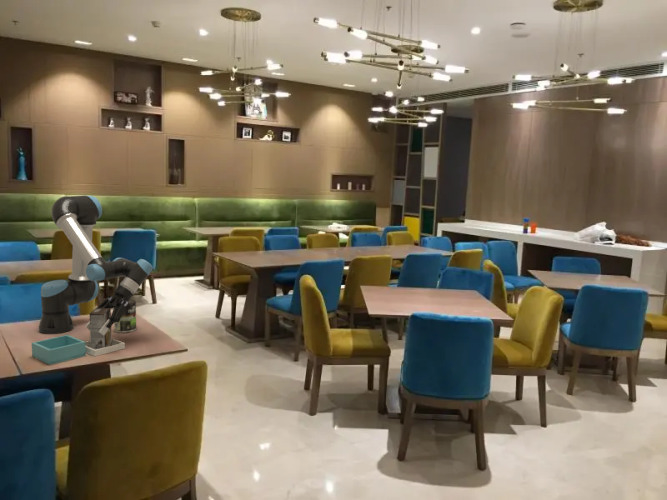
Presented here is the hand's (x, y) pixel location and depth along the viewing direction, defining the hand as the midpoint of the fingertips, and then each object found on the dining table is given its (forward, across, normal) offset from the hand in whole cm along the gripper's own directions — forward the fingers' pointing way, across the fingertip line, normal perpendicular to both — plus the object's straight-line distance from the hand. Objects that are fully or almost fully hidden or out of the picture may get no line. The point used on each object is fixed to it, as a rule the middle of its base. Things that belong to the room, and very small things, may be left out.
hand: (94, 331), depth 240 cm
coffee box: (+3, 0, -8) cm, 8 cm away
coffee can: (-12, +18, -25) cm, 33 cm away
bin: (+16, +4, +3) cm, 17 cm away
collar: (+4, 0, -8) cm, 9 cm away
